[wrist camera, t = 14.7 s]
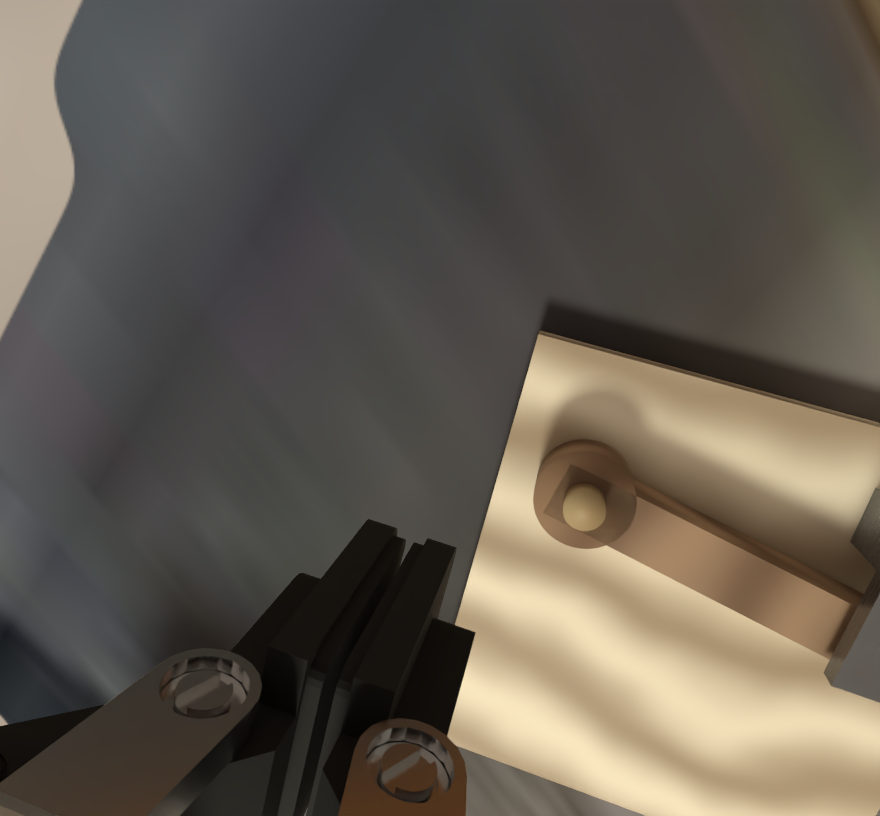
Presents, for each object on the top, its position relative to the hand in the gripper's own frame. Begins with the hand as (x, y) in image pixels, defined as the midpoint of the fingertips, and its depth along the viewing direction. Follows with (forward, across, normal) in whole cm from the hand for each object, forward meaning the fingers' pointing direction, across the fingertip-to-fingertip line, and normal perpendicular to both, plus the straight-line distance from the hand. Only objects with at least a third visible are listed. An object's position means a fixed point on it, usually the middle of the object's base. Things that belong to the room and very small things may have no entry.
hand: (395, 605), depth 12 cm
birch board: (+25, -13, +11) cm, 30 cm away
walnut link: (+23, -13, +6) cm, 27 cm away
